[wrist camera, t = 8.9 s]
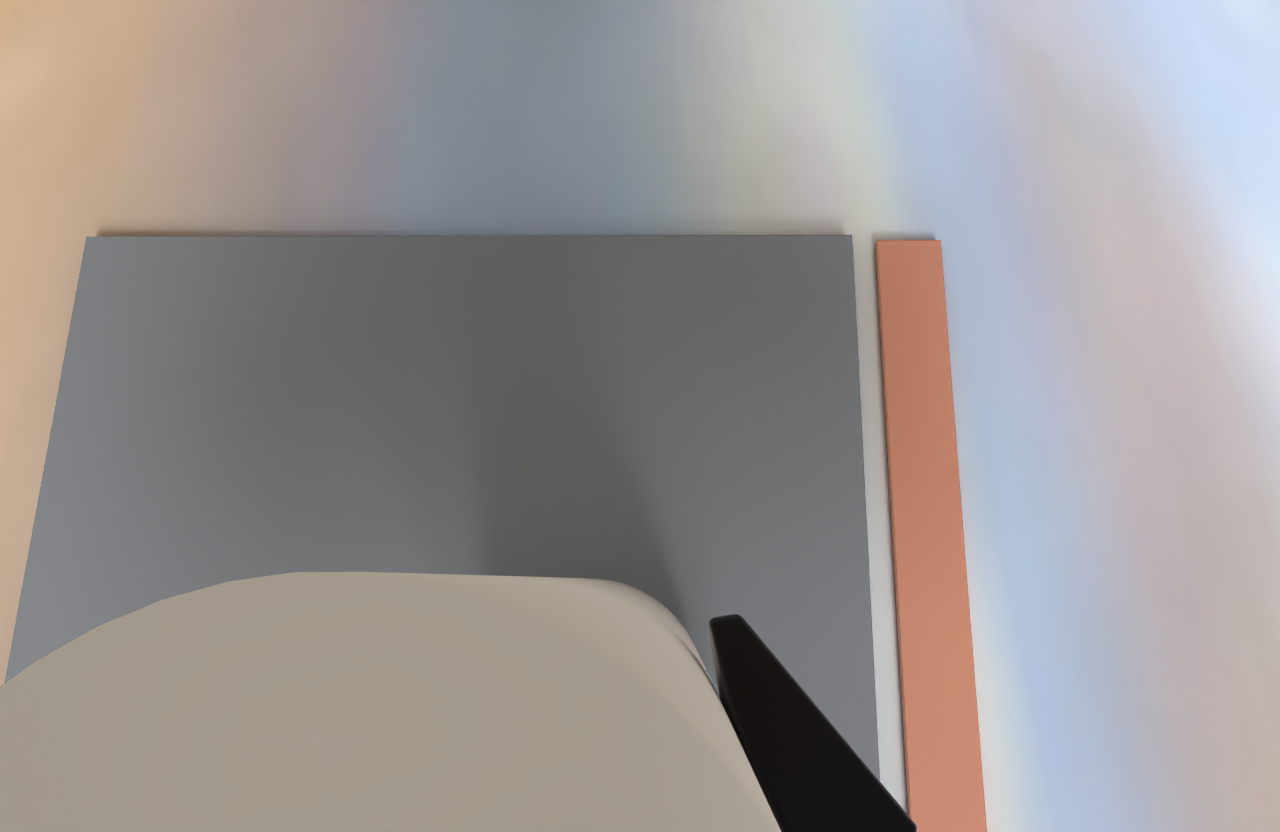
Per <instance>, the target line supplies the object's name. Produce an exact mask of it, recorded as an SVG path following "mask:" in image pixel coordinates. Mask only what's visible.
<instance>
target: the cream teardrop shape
mask: <svg viewBox="0 0 1280 832" xmlns="http://www.w3.org/2000/svg"><path fill="white" fill-rule="evenodd" d="M0 832H781V830H780V828H779V826H778V824H777V821H776V819H775V817H774V815H773V813H772V811H771V808H770V806H769V804H768V802H767V800H766V798H765V796H764V793H763V791H762V789H761V787H760V785H759V783H758V780H757V778H756V776H755V774H754V772H753V770H752V768H751V765H750V763H749V761H748V759H747V757H746V755H745V752H744V750H743V748H742V746H741V744H740V742H739V740H738V737H737V735H736V733H735V731H734V729H733V727H732V724H731V722H730V720H729V718H728V716H727V714H726V712H725V709H724V707H723V705H722V703H721V701H720V699H719V696H718V694H717V692H716V690H715V688H714V686H713V684H712V681H711V679H710V677H709V675H708V673H707V671H706V668H705V666H704V664H703V662H702V660H701V658H700V656H699V653H698V651H697V649H696V647H695V645H694V643H693V641H692V640H691V638H690V636H689V634H688V633H687V631H686V630H685V628H684V627H683V626H682V624H681V623H680V622H679V620H678V619H677V618H676V617H675V616H674V615H673V614H672V613H671V612H670V611H669V610H668V609H667V608H666V607H665V606H664V605H663V604H661V603H660V602H659V601H657V600H656V599H655V598H653V597H652V596H650V595H648V594H647V593H645V592H643V591H641V590H639V589H637V588H634V587H632V586H630V585H627V584H624V583H620V582H616V581H612V580H605V579H594V578H559V577H525V576H491V575H457V574H423V573H389V572H292V573H285V574H278V575H271V576H264V577H257V578H249V579H242V580H235V581H228V582H225V583H221V584H217V585H214V586H210V587H206V588H203V589H199V590H196V591H192V592H188V593H185V594H181V595H177V596H174V597H170V598H167V599H163V600H160V601H158V602H155V603H153V604H151V605H148V606H146V607H143V608H141V609H139V610H136V611H134V612H131V613H129V614H127V615H124V616H122V617H119V618H117V619H115V620H112V621H110V622H107V623H105V624H103V625H100V626H98V627H96V628H94V629H92V630H91V631H89V632H87V633H85V634H83V635H82V636H80V637H78V638H76V639H75V640H73V641H71V642H69V643H68V644H66V645H64V646H62V647H60V648H59V649H57V650H55V651H53V652H52V653H50V654H48V655H46V656H44V657H43V658H41V659H39V660H37V661H36V662H34V663H32V664H31V665H30V666H28V667H27V668H26V669H24V670H23V671H21V672H20V673H19V674H17V675H16V676H15V677H13V678H12V679H11V680H9V681H8V682H6V683H5V684H4V685H2V686H1V687H0Z"/></svg>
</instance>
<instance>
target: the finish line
mask: <svg viewBox="0 0 1280 832" xmlns="http://www.w3.org/2000/svg"><path fill="white" fill-rule="evenodd" d="M875 246H876V264H877V281H878V298H879V315H880V333H881V350H882V367H883V384H884V401H885V419H886V436H887V453H888V470H889V487H890V505H891V522H892V539H893V556H894V574H895V591H896V608H897V625H898V642H899V660H900V677H901V694H902V711H903V728H904V746H905V763H906V780H907V797H908V815H909V817H910V818H911V819H912V820H913V822H914V823H915V824H916V825H917V832H987V828H986V815H985V802H984V789H983V777H982V764H981V751H980V738H979V725H978V713H977V700H976V687H975V674H974V661H973V649H972V636H971V623H970V610H969V597H968V585H967V572H966V559H965V546H964V533H963V521H962V508H961V495H960V482H959V469H958V457H957V444H956V431H955V418H954V405H953V393H952V380H951V367H950V354H949V341H948V329H947V316H946V303H945V290H944V277H943V265H942V252H941V240H877V242H876V244H875Z"/></svg>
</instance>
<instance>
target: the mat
mask: <svg viewBox="0 0 1280 832" xmlns="http://www.w3.org/2000/svg"><path fill="white" fill-rule="evenodd" d="M292 572H389V573H423V574H457V575H491V576H525V577H559V578H594V579H605V580H612V581H616V582H620V583H624V584H627V585H630V586H632V587H634V588H637V589H639V590H641V591H643V592H645V593H647V594H648V595H650V596H652V597H653V598H655V599H656V600H657V601H659V602H660V603H661V604H663V605H664V606H665V607H666V608H667V609H668V610H669V611H670V612H671V613H672V614H673V615H674V616H675V617H676V618H677V619H678V620H679V622H680V623H681V624H682V626H683V627H684V628H685V630H686V631H687V633H688V634H689V636H690V638H691V640H692V641H693V643H694V645H695V647H696V649H697V651H698V653H699V656H700V658H701V660H702V662H703V664H704V666H705V668H706V671H707V673H708V675H709V677H710V679H711V681H712V684H713V686H714V688H715V690H716V692H717V694H718V696H719V692H718V687H717V682H716V676H715V671H714V664H713V657H712V649H711V641H710V632H709V621H710V619H712V618H713V617H719V616H725V615H731V614H738V615H740V616H742V617H743V618H744V619H745V620H746V622H747V623H748V624H749V625H750V626H751V628H752V629H753V630H754V631H755V632H756V634H757V635H758V636H759V637H760V638H761V640H762V641H763V642H764V643H765V644H766V646H767V647H768V648H769V649H770V650H771V652H772V653H773V654H774V655H775V656H776V658H777V659H778V660H779V661H780V662H781V664H782V665H783V666H784V667H785V668H786V670H787V671H788V672H789V673H790V674H791V676H792V677H793V678H794V679H795V680H796V682H797V683H798V684H799V685H800V686H801V688H802V689H803V690H804V691H805V692H806V693H807V695H808V696H809V697H810V698H811V699H812V701H813V702H814V703H815V704H816V705H817V707H818V708H819V709H820V710H821V711H822V713H823V714H824V715H825V716H826V717H827V719H828V720H829V721H830V722H831V723H832V725H833V726H834V727H835V728H836V729H837V731H838V732H839V733H840V734H841V735H842V737H843V738H844V739H845V740H846V741H847V743H848V744H849V745H850V746H851V747H852V749H853V750H854V751H855V752H856V753H857V755H858V756H859V757H860V758H861V759H862V761H863V762H864V763H865V764H866V765H867V767H868V768H869V769H870V770H871V771H872V773H873V774H874V775H875V776H876V777H877V779H878V780H879V781H880V775H879V755H878V736H877V716H876V696H875V677H874V657H873V638H872V618H871V598H870V579H869V559H868V540H867V520H866V501H865V481H864V461H863V442H862V422H861V403H860V383H859V364H858V344H857V324H856V305H855V285H854V266H853V246H852V235H679V236H205V237H86V242H85V248H84V253H83V259H82V264H81V270H80V275H79V281H78V286H77V292H76V297H75V302H74V308H73V313H72V319H71V324H70V330H69V335H68V341H67V346H66V352H65V357H64V362H63V368H62V373H61V379H60V384H59V390H58V395H57V401H56V406H55V412H54V417H53V422H52V428H51V433H50V439H49V444H48V450H47V455H46V461H45V466H44V472H43V477H42V482H41V488H40V493H39V499H38V504H37V510H36V515H35V521H34V526H33V532H32V537H31V542H30V548H29V553H28V559H27V564H26V570H25V575H24V581H23V586H22V592H21V597H20V602H19V608H18V613H17V619H16V624H15V630H14V635H13V641H12V646H11V652H10V657H9V662H8V668H7V673H6V679H5V683H6V682H8V681H9V680H11V679H12V678H13V677H15V676H16V675H17V674H19V673H20V672H21V671H23V670H24V669H26V668H27V667H28V666H30V665H31V664H32V663H34V662H36V661H37V660H39V659H41V658H43V657H44V656H46V655H48V654H50V653H52V652H53V651H55V650H57V649H59V648H60V647H62V646H64V645H66V644H68V643H69V642H71V641H73V640H75V639H76V638H78V637H80V636H82V635H83V634H85V633H87V632H89V631H91V630H92V629H94V628H96V627H98V626H100V625H103V624H105V623H107V622H110V621H112V620H115V619H117V618H119V617H122V616H124V615H127V614H129V613H131V612H134V611H136V610H139V609H141V608H143V607H146V606H148V605H151V604H153V603H155V602H158V601H160V600H163V599H167V598H170V597H174V596H177V595H181V594H185V593H188V592H192V591H196V590H199V589H203V588H206V587H210V586H214V585H217V584H221V583H225V582H228V581H235V580H242V579H249V578H257V577H264V576H271V575H278V574H285V573H292ZM719 699H720V698H719Z"/></svg>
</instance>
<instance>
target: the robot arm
mask: <svg viewBox="0 0 1280 832" xmlns="http://www.w3.org/2000/svg"><path fill="white" fill-rule="evenodd" d="M709 632H710V641H711V649H712V657H713V664H714V671H715V676H716V682H717V687H718V692H719V698H720V701H721V703H722V705H723V707H724V709H725V712H726V714H727V716H728V718H729V720H730V722H731V724H732V727H733V729H734V731H735V733H736V735H737V737H738V740H739V742H740V744H741V746H742V748H743V750H744V752H745V755H746V757H747V759H748V761H749V763H750V765H751V768H752V770H753V772H754V774H755V776H756V778H757V780H758V783H759V785H760V787H761V789H762V791H763V793H764V796H765V798H766V800H767V802H768V804H769V806H770V808H771V811H772V813H773V815H774V817H775V819H776V821H777V824H778V826H779V828H780V830H781V832H917V825H916V824H915V823H914V822H913V820H912V819H911V818H910V817H909V816H908V814H907V813H906V812H905V811H904V810H903V808H902V807H901V806H900V805H899V804H898V802H897V801H896V800H895V799H894V798H893V796H892V795H891V794H890V793H889V792H888V791H887V789H886V788H885V787H884V786H883V785H882V783H881V782H880V781H879V780H878V779H877V777H876V776H875V775H874V774H873V773H872V771H871V770H870V769H869V768H868V767H867V765H866V764H865V763H864V762H863V761H862V759H861V758H860V757H859V756H858V755H857V753H856V752H855V751H854V750H853V749H852V747H851V746H850V745H849V744H848V743H847V741H846V740H845V739H844V738H843V737H842V735H841V734H840V733H839V732H838V731H837V729H836V728H835V727H834V726H833V725H832V723H831V722H830V721H829V720H828V719H827V717H826V716H825V715H824V714H823V713H822V711H821V710H820V709H819V708H818V707H817V705H816V704H815V703H814V702H813V701H812V699H811V698H810V697H809V696H808V695H807V693H806V692H805V691H804V690H803V689H802V688H801V686H800V685H799V684H798V683H797V682H796V680H795V679H794V678H793V677H792V676H791V674H790V673H789V672H788V671H787V670H786V668H785V667H784V666H783V665H782V664H781V662H780V661H779V660H778V659H777V658H776V656H775V655H774V654H773V653H772V652H771V650H770V649H769V648H768V647H767V646H766V644H765V643H764V642H763V641H762V640H761V638H760V637H759V636H758V635H757V634H756V632H755V631H754V630H753V629H752V628H751V626H750V625H749V624H748V623H747V622H746V620H745V619H744V618H743V617H742V616H740V615H738V614H731V615H725V616H719V617H713V618H712V619H710V621H709Z"/></svg>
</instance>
